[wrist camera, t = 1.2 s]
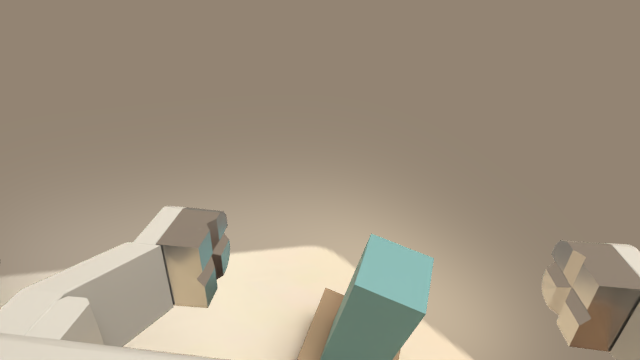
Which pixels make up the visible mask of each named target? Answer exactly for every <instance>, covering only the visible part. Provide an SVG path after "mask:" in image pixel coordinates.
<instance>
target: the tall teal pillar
mask: <svg viewBox="0 0 640 360" xmlns="http://www.w3.org/2000/svg"><path fill="white" fill-rule="evenodd" d="M433 261H434V258H432V257H429V256H427V255H424V254H421V253H419V252H416V251H414V250H411V249H409V248H406V247H403V246H401V245H399V244H396V243H394V242H391V241H389V240H386V239H384V238H381V237H378V236H376V235H373V234H371V235H370V238H369V240H368V242H367V245H366V247H365V249H364V252H363V254H362V257H361V259H360V261H359V263H358V266H357V268H356V270H355V272H354V275H353V277H352V279H351V282H350V284H349V286H348V289H347V291H346V293H345V296H344V298H343V300H342V303H341V305H340V307H339V309H338V312H337V314H336V316H335V319H334V321H333V324H332V327H331V330H330V333H329V336H328V339H327V341H326V344H325V347H324V350H323V353H322V356H321V359H320V360H393V358H394V357H395V356H396V354H397V353H398V351H399V350H400V349H401V347H402V346H403V345H404V343H405V342H406V340H407V339H408V338H409V336H410V335H411V334H412V332H413V331H414V329H415V328H416V327H417V325H418V324H419V323H420V321H421V320H422V318H423V317H424V316H425V314H426V309H427V302H428V295H429V288H430V281H431V274H432V268H433Z"/></svg>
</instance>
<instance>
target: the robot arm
mask: <svg viewBox="0 0 640 360" xmlns="http://www.w3.org/2000/svg"><path fill="white" fill-rule="evenodd" d="M227 225H228V224H227V217H226V214H225V213H224V211H216V210H206V209H197V208H188V207H187V208H185V207H177V206H166V207H163V208H162V209H161V211H160V212H159V213H158V214H157V215H156V216H155V217H154V219H153V220H152V221H151V222H150V223H149V225H148V226H147V227H146V228H145V229H144V230H143V231H142V233H141V234H140V235H139V236H138V237H137V238H136V239H135V241H134V242H133V243H130V242H126V243H124V244H122V245H119V246H117V247H115V248H113V249H110V250H108V251H106V252H104V253H101V254H99V255H97V256H95V257H93V258H90V259H88V260H86V261H83V262H81V263H79V264H77V265H74V266H72V267H70V268H68V269H66V270H63V271H61V272H59V273H57V274H54V275H52V276H50V277H48V278H45V279H43V280H41V281H39V282H36V283H34V284H32V285H30V286H27V287H25V288H23V289H21V290H20V291H19V292H18V293H17V294H15V295H14V296H13V297H12V298H11V299H10V300H9V301H8V302H7V303H6V304H5V305H4V306H2V307H1V308H0V360H229V359H220V358H212V357H203V356H195V355H186V354H178V353H169V352H160V351H152V350H143V349H135V348H126V347H123V346H124V345H125V344H127V343H128V342H129V341H131V340H132V339H133V338H134V337H136V336H137V335H138V334H140V333H141V332H142V331H143V330H145V329H146V328H147V327H149V326H150V325H151V324H153V323H154V322H155V321H156V320H158V319H159V318H160V317H162V316H163V315H164V314H165V313H167V312H168V311H169V310H171V309H172V308H173V307H174V306H173V305H176V306H189V307H202V308H208V307H209V305H210V302H211V300H212V298H213V296H214V294H215V292H216V290H217V279H218V278H220V277H221V276H223V275H224V273H225V271H226V268H227V265H228V261H229V256H230V243H229V239H228V238H227V237H226V235H225V234H224V231H225V229H226V228H227ZM552 256H553V258H554V260H555V262H554V263H553V264H551V265H550V266H549V267H547V268H546V269H545V272H544V275H543V278H542V293H543V297H544V300H545V302H546V304H547V306H548V308H550V309H551V310H552V311H554V312H555V313H556V314H558V315H559V317H558V319H557V322H556V323H557V325H558V327H559V329H560V331H561V332H562V334H563V336H564V338H565V340H566V342H567V344H568V345H569V347H577V348H584V349H592V350H599V351H607V352H610V355H611V356H613V357H614V358H615V359H616V360H640V252H639V251H638V250H637V249H636V248H635V247H633V246H631V245H628V244H611V243H605V244H602V243H588V242H575V241H561V240H560V241H559V242H558V243H557V244H556V245H555V247H554V250H553V252H552Z"/></svg>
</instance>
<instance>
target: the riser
mask: <svg viewBox="0 0 640 360" xmlns="http://www.w3.org/2000/svg"><path fill="white" fill-rule="evenodd" d="M343 298H344V295H342V294H339V293H337V292H335V291H332V290H330V289H327V288H325V290H324V293H323V296H322V298H321V301H320V303H319V306H318V308H317V311H316V313H315V316H314V318H313V321H312V323H311V326H310V328H309V331H308V333H307V336H306V338H305V341H304V343H303V346H302V348H301V351H300V353H299V356H298V358H297V360H320V359H321V356H322V353H323V350H324V347H325V344H326V341H327V339H328V336H329V333H330V330H331V327H332V324H333V321H334V319H335V316H336V314H337V312H338V309H339V307H340V305H341V303H342V300H343ZM399 354H400V350H399V351H398V353H397V354H396V356H395V357H394V358H393V360H399Z"/></svg>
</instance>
